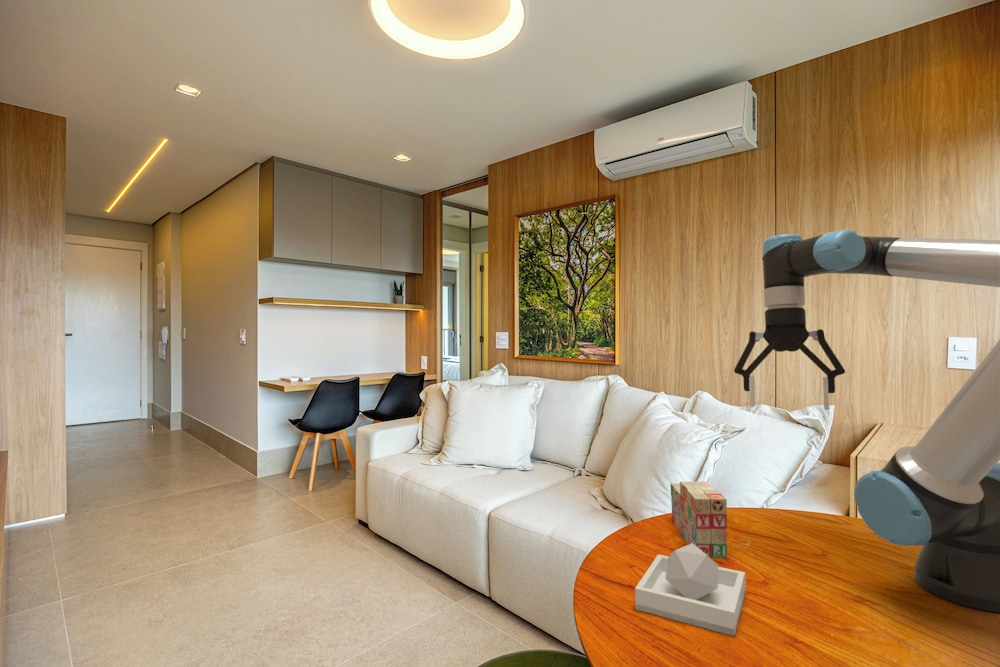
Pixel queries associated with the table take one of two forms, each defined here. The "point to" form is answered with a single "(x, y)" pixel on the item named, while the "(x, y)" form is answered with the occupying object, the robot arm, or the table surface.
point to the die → (692, 572)
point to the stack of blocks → (701, 516)
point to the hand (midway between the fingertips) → (788, 408)
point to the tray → (704, 612)
